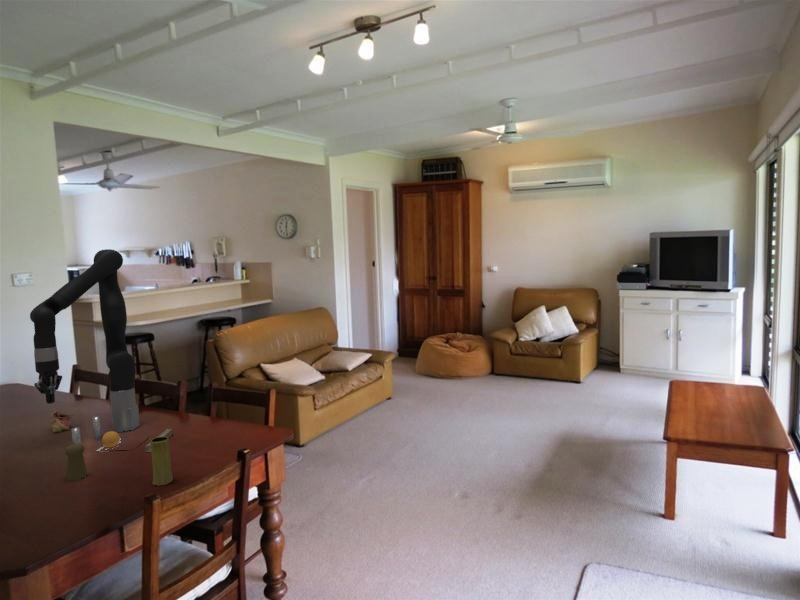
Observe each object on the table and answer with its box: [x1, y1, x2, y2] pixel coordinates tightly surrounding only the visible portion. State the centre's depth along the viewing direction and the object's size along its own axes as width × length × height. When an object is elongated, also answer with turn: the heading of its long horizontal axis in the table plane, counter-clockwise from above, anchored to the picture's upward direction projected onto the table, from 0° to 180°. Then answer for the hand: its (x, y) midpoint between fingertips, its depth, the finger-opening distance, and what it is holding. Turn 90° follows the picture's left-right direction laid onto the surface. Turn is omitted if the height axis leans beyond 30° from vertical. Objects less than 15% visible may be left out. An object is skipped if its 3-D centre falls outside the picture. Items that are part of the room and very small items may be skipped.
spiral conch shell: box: [50, 409, 75, 433], centre depth 222 cm, size 9×10×10 cm
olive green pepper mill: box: [65, 443, 89, 482], centre depth 175 cm, size 6×6×11 cm
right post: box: [91, 415, 103, 441], centre depth 210 cm, size 3×3×9 cm
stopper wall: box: [144, 428, 173, 453], centre depth 204 cm, size 2×18×2 cm, turn 179°
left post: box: [70, 426, 82, 445], centre depth 197 cm, size 3×3×9 cm
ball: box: [101, 430, 120, 447], centre depth 201 cm, size 6×6×6 cm
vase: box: [150, 436, 174, 487], centre depth 169 cm, size 6×6×14 cm
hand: (50, 402), depth 203 cm, fingers closed
